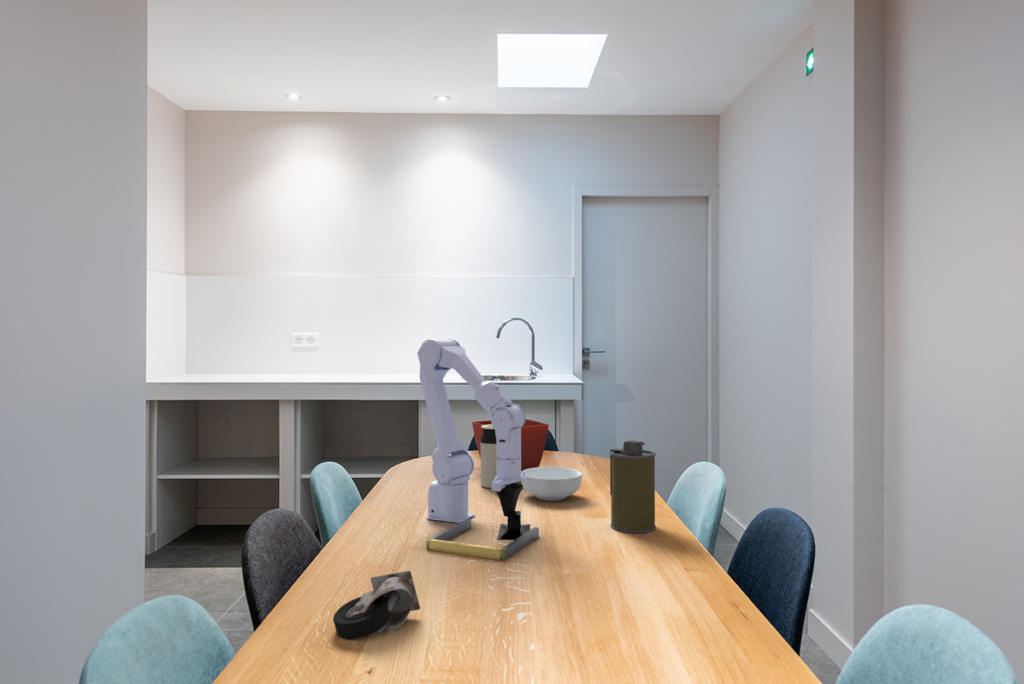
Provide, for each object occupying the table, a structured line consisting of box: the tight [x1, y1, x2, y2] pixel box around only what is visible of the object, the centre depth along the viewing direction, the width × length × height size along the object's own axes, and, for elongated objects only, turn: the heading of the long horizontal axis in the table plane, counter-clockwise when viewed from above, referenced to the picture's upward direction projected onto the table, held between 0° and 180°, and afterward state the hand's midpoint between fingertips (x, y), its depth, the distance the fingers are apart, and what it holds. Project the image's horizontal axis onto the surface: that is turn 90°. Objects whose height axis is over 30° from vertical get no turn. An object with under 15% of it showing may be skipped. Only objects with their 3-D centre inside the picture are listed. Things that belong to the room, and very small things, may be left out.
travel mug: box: [480, 425, 497, 489], centre depth 203 cm, size 8×8×18 cm
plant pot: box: [471, 418, 549, 471], centre depth 220 cm, size 19×19×17 cm
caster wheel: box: [332, 570, 421, 641], centre depth 103 cm, size 7×11×10 cm
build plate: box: [496, 510, 531, 541], centre depth 154 cm, size 12×7×5 cm, turn 177°
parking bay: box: [425, 518, 540, 562], centre depth 146 cm, size 18×18×2 cm
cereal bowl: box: [520, 466, 583, 502], centre depth 188 cm, size 17×17×7 cm
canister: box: [609, 439, 657, 534], centre depth 158 cm, size 11×10×20 cm
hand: (508, 516), depth 158 cm, fingers closed
